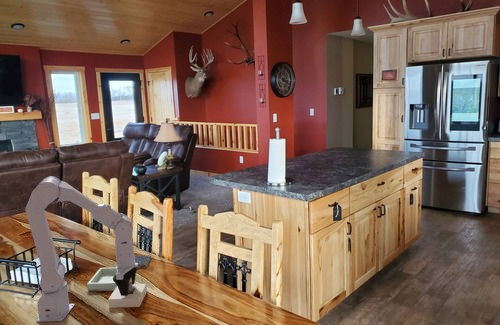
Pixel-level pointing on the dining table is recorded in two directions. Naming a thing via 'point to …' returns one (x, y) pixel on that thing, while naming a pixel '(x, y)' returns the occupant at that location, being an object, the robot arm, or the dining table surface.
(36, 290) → the dining table surface
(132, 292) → the steel pin
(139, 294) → the block
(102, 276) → the tray
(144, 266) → the woven mat
